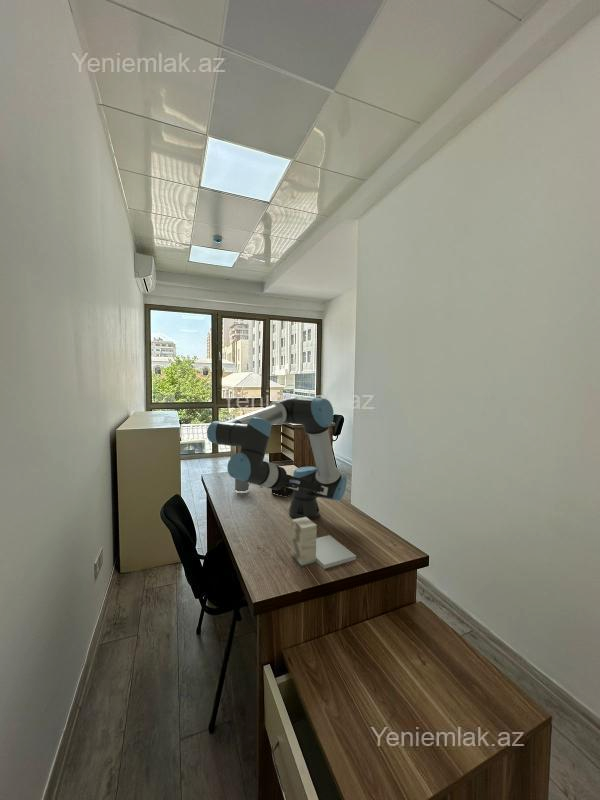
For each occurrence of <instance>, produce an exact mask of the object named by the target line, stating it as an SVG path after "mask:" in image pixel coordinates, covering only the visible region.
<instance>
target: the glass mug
mask: <svg viewBox="0 0 600 800" xmlns="http://www.w3.org/2000/svg"><path fill="white" fill-rule="evenodd" d="M251 484H252V483H248V482H244V481H240V480H238V479H235V478H234V487H235V488H234V491H235V490H237V491H246V490H248V489H249V487H250V485H251ZM249 490H250V489H249Z"/></svg>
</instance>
